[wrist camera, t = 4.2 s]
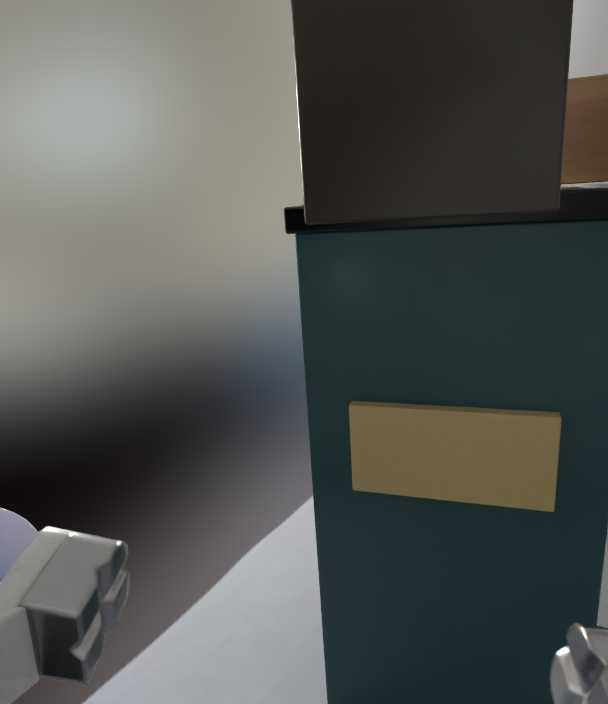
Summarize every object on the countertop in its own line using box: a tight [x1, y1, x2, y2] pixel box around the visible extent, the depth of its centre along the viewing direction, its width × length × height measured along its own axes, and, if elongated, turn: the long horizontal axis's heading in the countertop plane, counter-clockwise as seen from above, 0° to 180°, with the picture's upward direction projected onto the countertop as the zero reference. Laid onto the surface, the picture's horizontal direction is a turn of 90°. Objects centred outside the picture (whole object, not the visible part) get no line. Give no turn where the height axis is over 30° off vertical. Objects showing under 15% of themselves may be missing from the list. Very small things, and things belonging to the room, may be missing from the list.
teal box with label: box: [284, 184, 608, 704], centre depth 26 cm, size 13×9×26 cm
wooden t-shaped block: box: [291, 0, 608, 225], centre depth 17 cm, size 10×18×4 cm, turn 162°
